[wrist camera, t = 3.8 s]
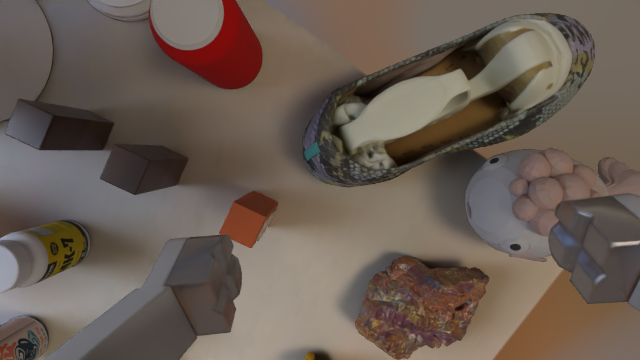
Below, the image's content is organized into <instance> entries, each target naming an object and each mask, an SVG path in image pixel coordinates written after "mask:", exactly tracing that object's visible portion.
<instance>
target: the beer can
mask: <svg viewBox="0 0 640 360" xmlns="http://www.w3.org/2000/svg"><path fill="white" fill-rule="evenodd" d="M47 344H48V336H47V333H46V330H45V328H44V327H43V325H42V324H41V323H40V322H38V321H37V320H35V319H33V318H30V317H25V316H20V317H16V318H13V319H11V320H9V321H7V322H6V323H4V324H2V325H0V360H36V359H37V358H39V357H40V356H41V355H42V354H43V353H44V351H45V350H46V348H47Z"/></svg>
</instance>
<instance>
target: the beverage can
mask: <svg viewBox="0 0 640 360" xmlns="http://www.w3.org/2000/svg"><path fill="white" fill-rule="evenodd" d="M149 23H150V27H151V31H152V34H153V36H154V38H155V40H156V42H157V43H158V45H159V46H160V48H161V49H162V50H163V51H164V52H165V53H166V54H167V55H168V56H169V57H170V58H172V59H173V60H175V61H176V62H178V63H180V64H181V65H183V66H184V67H186V68H188V69H189V70H191V71H193V72H194V73H196V74H198V75H199V76H201V77H202V78H204V79H206V80H207V81H209V82H211V83H212V84H214V85H216V86H218V87H220V88H224V89H238V88H242V87H244V86H246V85H248V84H249V83H251V82H252V81H253V80H254V79H255V77H256V76H257V74H258V73H259V70H260V68H261V65H262V48H261V45H260V42H259V40H258V38H257V36H256V35H255V33H254V31H253V30H252V28H251V26H250V24H249V23H248V21H247V19H246V18H245V16H244V14H243V12H242V11H241V9H240V7H239V5H238V4H237V2H236V0H151V2H150V7H149Z"/></svg>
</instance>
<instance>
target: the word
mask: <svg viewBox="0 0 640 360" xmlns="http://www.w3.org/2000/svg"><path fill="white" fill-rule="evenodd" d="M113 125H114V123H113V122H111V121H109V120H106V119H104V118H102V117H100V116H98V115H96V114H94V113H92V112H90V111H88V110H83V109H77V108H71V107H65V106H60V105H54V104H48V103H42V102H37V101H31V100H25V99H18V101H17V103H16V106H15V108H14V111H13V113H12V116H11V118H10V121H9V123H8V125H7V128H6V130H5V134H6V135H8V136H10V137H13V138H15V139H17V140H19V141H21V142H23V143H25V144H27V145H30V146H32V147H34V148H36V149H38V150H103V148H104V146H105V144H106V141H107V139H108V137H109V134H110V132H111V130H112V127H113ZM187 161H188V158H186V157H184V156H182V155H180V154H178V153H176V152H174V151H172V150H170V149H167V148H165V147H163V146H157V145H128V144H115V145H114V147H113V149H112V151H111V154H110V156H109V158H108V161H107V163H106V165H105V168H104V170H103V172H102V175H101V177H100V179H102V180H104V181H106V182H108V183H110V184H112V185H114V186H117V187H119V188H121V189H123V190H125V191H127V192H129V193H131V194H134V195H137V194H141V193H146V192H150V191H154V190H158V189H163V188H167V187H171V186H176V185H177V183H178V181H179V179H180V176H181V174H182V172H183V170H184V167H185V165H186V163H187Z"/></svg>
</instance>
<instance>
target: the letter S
mask: <svg viewBox="0 0 640 360" xmlns="http://www.w3.org/2000/svg"><path fill="white" fill-rule="evenodd" d="M277 205H278V202H277V201H274V200H272V199H270V198H268V197H266V196H264V195H262V194H260V193H258V192H256V191H252V192H250V193H248V194H247V195H245V196H243V197H241V198H240V199H238V200H236V201H234V202H233V204H232V206H231V208H230V210H229V213H228V215H227V217H226V219H225V221H224V223H223V226H222V228H221V230H220V232H219V233H220V234H221V235H228V236H230V238H231V239H232V240H234V241H236V242H238V243H241V244H243V245H245V246H247V247H249V248H252V247H253V245H254V244H255V243H256V241H259V240H260V238H261V237H262V235H263V234H264V232H265V231H266V228H267V226H268V227H269V225H270V223H271V221H272V219H273V217H274V215H275V213H276V211H277V209H276V207H277Z"/></svg>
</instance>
